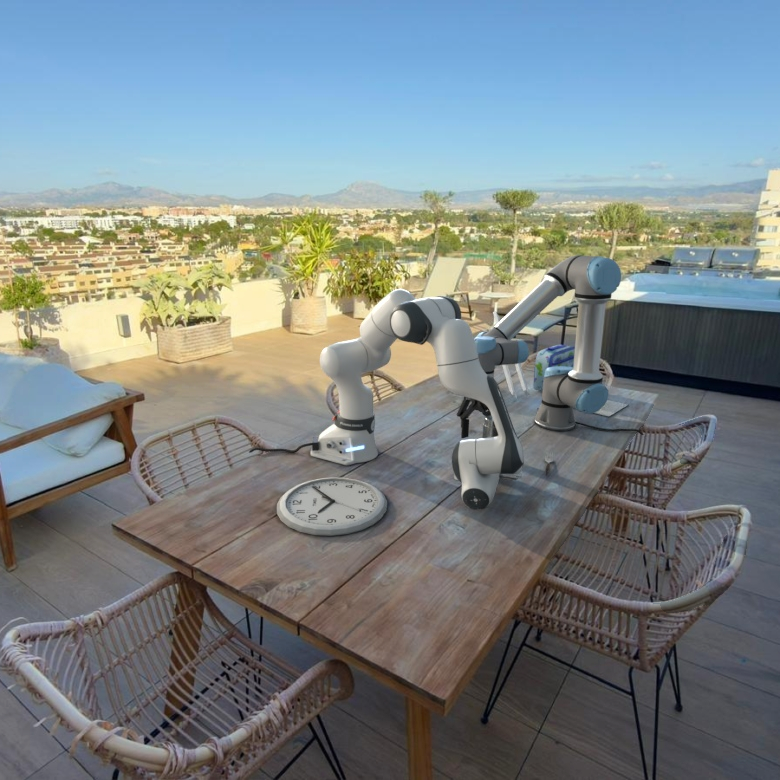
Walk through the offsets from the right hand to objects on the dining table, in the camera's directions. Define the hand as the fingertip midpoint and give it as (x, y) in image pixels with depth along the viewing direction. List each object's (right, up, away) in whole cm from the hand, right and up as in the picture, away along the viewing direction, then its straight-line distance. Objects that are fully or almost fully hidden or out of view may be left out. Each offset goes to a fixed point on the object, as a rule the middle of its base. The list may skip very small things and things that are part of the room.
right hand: (478, 443), depth 178 cm
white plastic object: (+12, +17, +65) cm, 68 cm away
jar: (+1, -8, -16) cm, 17 cm away
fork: (+21, -6, -10) cm, 24 cm away
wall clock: (-46, -13, -36) cm, 59 cm away
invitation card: (+61, +11, +48) cm, 79 cm away
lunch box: (+48, +19, +72) cm, 88 cm away
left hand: (+1, -2, -17) cm, 17 cm away
